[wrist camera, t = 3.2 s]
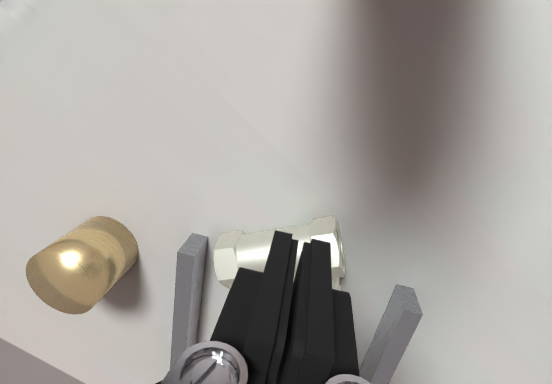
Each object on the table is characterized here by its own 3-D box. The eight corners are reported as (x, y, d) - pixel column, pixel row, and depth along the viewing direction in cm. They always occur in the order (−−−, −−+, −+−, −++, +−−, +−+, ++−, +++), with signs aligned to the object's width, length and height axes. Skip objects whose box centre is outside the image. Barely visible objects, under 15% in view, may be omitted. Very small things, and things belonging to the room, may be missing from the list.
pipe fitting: (351, 283, 24) (334, 207, 21) (355, 327, 21) (336, 242, 18) (252, 294, 26) (224, 225, 23) (240, 334, 23) (206, 260, 20)
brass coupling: (138, 224, 24) (94, 263, 20) (138, 276, 26) (98, 322, 22) (78, 209, 25) (20, 244, 20) (82, 261, 27) (31, 303, 22)
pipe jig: (413, 288, 23) (432, 344, 18) (338, 451, 31) (339, 515, 27) (192, 233, 24) (160, 273, 19) (177, 403, 32) (153, 458, 28)
